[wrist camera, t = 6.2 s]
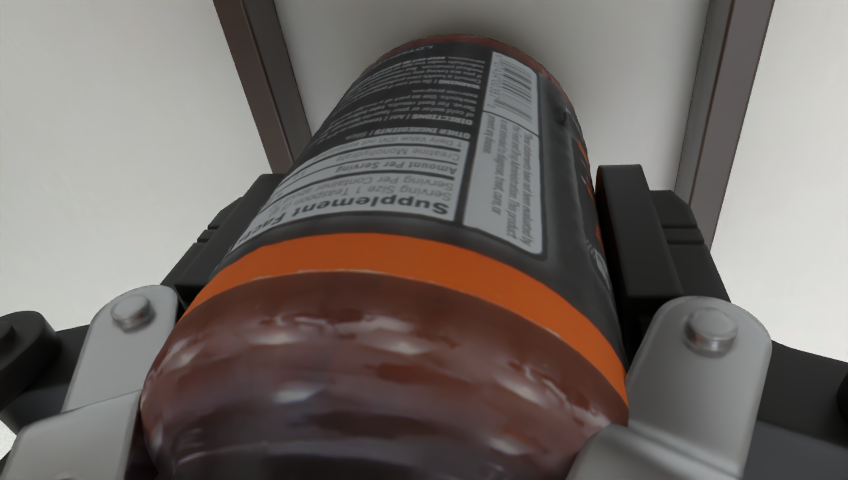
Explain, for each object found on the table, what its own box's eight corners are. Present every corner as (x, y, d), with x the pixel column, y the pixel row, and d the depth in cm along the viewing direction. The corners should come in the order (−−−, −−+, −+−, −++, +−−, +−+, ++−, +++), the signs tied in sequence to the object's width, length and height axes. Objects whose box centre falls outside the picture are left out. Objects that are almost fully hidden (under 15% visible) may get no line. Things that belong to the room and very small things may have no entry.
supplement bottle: (570, 249, 14) (635, 940, 5) (359, 239, 15) (118, 807, 6) (602, 18, 10) (979, 989, 2) (320, 25, 11) (-373, 654, 3)
